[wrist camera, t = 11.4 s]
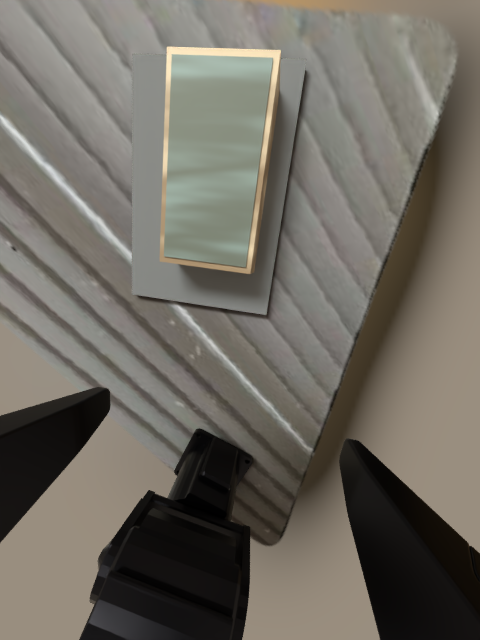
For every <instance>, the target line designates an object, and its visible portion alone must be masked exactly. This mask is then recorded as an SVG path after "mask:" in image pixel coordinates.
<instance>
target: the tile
mask: <svg viewBox="0 0 480 640" xmlns="http://www.w3.org/2000/svg"><path fill="white" fill-rule="evenodd" d="M280 62H281V50H257V49H224V48H192V47H167V63H166V91H165V119H164V148H163V176H162V205H161V233H160V262H167V263H174V264H181V265H188V266H195V267H203V268H210V269H217V270H224V271H231V272H238V273H246V274H252V273H254V269H255V262H256V255H257V248H258V241H259V234H260V227H261V220H262V213H263V206H264V198H265V191H266V184H267V177H268V170H269V163H270V156H271V149H272V142H273V135H274V127H275V120H276V113H277V106H278V99H279V92H280Z"/></svg>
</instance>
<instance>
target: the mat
mask: <svg viewBox="0 0 480 640" xmlns="http://www.w3.org/2000/svg"><path fill="white" fill-rule="evenodd" d="M306 61H307V59H294V58H281V62H280V92H279V99H278V106H277V113H276V120H275V127H274V135H273V142H272V149H271V156H270V163H269V170H268V177H267V184H266V191H265V198H264V206H263V213H262V220H261V227H260V234H259V241H258V248H257V255H256V262H255V269H254V273H252V274H246V273H238V272H231V271H224V270H217V269H210V268H203V267H195V266H188V265H181V264H174V263H167V262H160V233H161V205H162V176H163V148H164V119H165V91H166V63H167V55H161V54H132V294H134V295H140V296H147V297H153V298H159V299H166V300H172V301H179V302H185V303H192V304H198V305H205V306H211V307H218V308H224V309H230V310H237V311H243V312H250V313H256V314H263V315H266V314H267V307H268V301H269V295H270V288H271V282H272V276H273V269H274V263H275V257H276V250H277V244H278V238H279V232H280V225H281V219H282V213H283V206H284V200H285V194H286V187H287V181H288V175H289V168H290V162H291V156H292V150H293V143H294V137H295V131H296V124H297V118H298V112H299V105H300V99H301V93H302V86H303V80H304V74H305V68H306Z"/></svg>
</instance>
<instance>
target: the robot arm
mask: <svg viewBox="0 0 480 640" xmlns="http://www.w3.org/2000/svg"><path fill="white" fill-rule="evenodd" d="M109 410H110V391H109V389H107V388H102V387H96V388H93V389H89V390H86V391H83V392H79V393H76V394H73V395H69V396H66V397H62V398H59V399H56V400H52V401H49V402H45V403H42V404H39V405H35V406H32V407H28V408H25V409H22V410H18V411H15V412H12V413H8V414H5V415H1V416H0V542H1V541H2V540H3V539H4V538H5V537H6V536H7V534H8V533H9V532H10V531H11V530H12V529H13V528H14V526H15V525H16V524H17V523H18V522H19V521H20V520H21V518H22V517H23V516H24V515H25V514H26V513H27V511H28V510H29V509H30V508H31V507H32V506H33V505H34V503H35V502H36V501H37V500H38V499H39V498H40V496H41V495H42V494H43V493H44V492H45V491H46V490H47V489H48V487H49V486H50V485H51V484H52V483H53V482H54V480H55V479H56V478H57V477H58V476H59V475H60V474H61V472H62V471H63V470H64V469H65V468H66V467H67V466H68V464H69V463H70V462H71V461H72V460H73V459H74V457H75V456H76V455H77V454H78V453H79V452H80V450H81V449H82V448H83V447H84V445H85V444H86V443H87V441H88V440H89V439H90V437H91V436H92V435H93V433H94V432H95V430H96V429H97V428H98V426H99V425H100V424H101V422H102V421H103V420H104V418H105V417H106V415H107V414H108V412H109ZM198 434H200V435H198ZM339 463H340V470H341V476H342V483H343V489H344V494H345V501H346V507H347V512H348V517H349V521H350V525H351V529H352V532H353V536H354V540H355V544H356V548H357V552H358V556H359V560H360V564H361V567H362V571H363V575H364V579H365V582H366V587H367V590H368V594H369V598H370V602H371V606H372V610H373V613H374V617H375V621H376V625H377V629H378V632H379V636H380V640H480V553H479V552H477V551H476V550H475V549H474V548H473V547H472V546H469V544H468V543H467V541H465V539H463V538H462V537H461V536H460V535H459V534H458V533H457V532H456V531H455V530H454V529H453V528H452V527H451V526H450V525H448V524H447V523H446V522H445V521H444V520H443V519H442V518H441V517H440V516H439V515H438V514H437V513H436V512H435V511H433V510H432V509H431V508H430V507H429V506H428V505H427V504H426V503H425V502H424V501H423V500H422V499H421V498H419V497H418V496H417V495H416V494H415V493H414V492H413V491H412V490H411V489H410V488H409V487H408V486H407V485H406V484H405V483H403V482H402V481H401V480H400V479H399V478H398V477H397V476H396V475H395V474H394V473H393V472H392V471H391V470H390V469H388V468H387V467H386V466H385V465H384V464H383V463H382V462H381V461H380V460H379V459H378V458H377V457H376V456H374V455H373V454H372V453H371V452H370V451H369V450H368V449H367V448H366V447H365V446H364V445H363V444H362V443H361V442H359V441H357V440H353V439H346V440H345V442H344V444H343V448H342V451H341V455H340V460H339ZM251 464H252V456H251V455H249V454H247V453H245V452H243V451H241V450H240V449H238V448H236V447H234V446H232V445H230V444H228V443H226V442H224V441H223V440H221V439H219V438H217V437H215V436H213V435H211V434H209V433H208V432H206V431H204V430H202V429H196V430H195V432H194V434H193V436H192V438H191V440H190V442H189V444H188V445H187V447H186V449H185V451H184V453H183V455H182V457H181V459H180V461H179V462H178V464H177V466H176V468H175V470H174V473H175V474H176V475H177V478H176V480H175V482H174V485H173V487H172V489H171V491H170V493H169V496H168V498H165V497H163V496H160V495H157V494H155V492H153V491H150V490H149V491H148V492H147V493H146V495H145V496H144V498H143V499H142V498H141V500H140V501H139V503H138V504H137V505H136V507H135V508H134V510H133V511H132V513H131V514H130V515H129V517H128V518H127V519H126V521H125V522H124V524H123V525H122V527H121V528H120V530H119V531H118V532H117V534H116V535H115V537H114V538H113V539H112V540H111V541H110V543H109V544H108V545H107V546H106V547H105V548H104V549H103V550H102V552H101V554H100V556H99V558H98V569H99V571H98V574H97V577H96V580H95V583H94V585H93V588H92V591H91V595H90V603H93V604H95V605H94V607H93V609H92V612H91V614H90V616H89V619H88V621H87V623H86V625H85V628H84V630H83V632H82V635H81V637H80V639H79V640H242V637H243V632H244V627H245V620H246V613H247V606H248V598H249V584H250V527H249V526H246V525H243V526H242V525H239V524H237V523H234V522H231V515H232V509H233V504H234V498H235V492H236V487H237V485H238V484H239V482H240V481H241V479H242V478H243V476H244V475H245V473H246V472H247V470H248V469H249V467H250V466H251Z"/></svg>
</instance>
